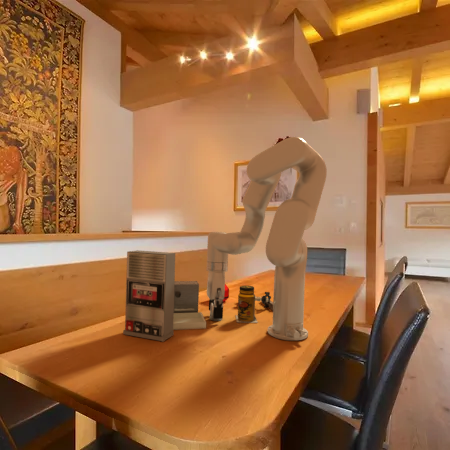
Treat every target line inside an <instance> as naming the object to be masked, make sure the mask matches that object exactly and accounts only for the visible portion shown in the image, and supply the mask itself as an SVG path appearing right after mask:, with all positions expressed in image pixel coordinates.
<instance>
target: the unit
mask: <svg viewBox="0 0 450 450" xmlns="http://www.w3.org/2000/svg"><path fill="white" fill-rule="evenodd" d="M199 293H200V284H199V282H198V281H197V280H185V281H184V280H179V281H178V280H177V281H175V284H174V313H196V312H199V302H200V301H199V300H200V299H199V295H200V294H199Z"/></svg>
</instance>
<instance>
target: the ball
mask: <svg viewBox="0 0 450 450" xmlns="http://www.w3.org/2000/svg"><path fill="white" fill-rule="evenodd" d="M228 299H230V289H229V286H228V285H227V284H226V283H225V294H224V299H223V303H225V302H226V301H227V300H228Z"/></svg>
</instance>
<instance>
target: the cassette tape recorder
mask: <svg viewBox="0 0 450 450" xmlns="http://www.w3.org/2000/svg"><path fill="white" fill-rule="evenodd" d="M175 276H176V252H167V251H164V252H163V251H154V250H153V251H150V250H138V249H137V250H129V251H127V252H126V283H125V315H124V316H125V318H124V319H125V320H124V321H125V322H124V329H123V330H122V334H123V335H125V336H132V337H137V338H142V339H149V340H153V341H159V342H162V343H163V342H165V341H166V340H168V339H170V338H171V337H173V336H174V335H175V334H174V332H175V331H174V330H173V318H174V284H175Z"/></svg>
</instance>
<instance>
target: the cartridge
mask: <svg viewBox="0 0 450 450" xmlns="http://www.w3.org/2000/svg"><path fill="white" fill-rule="evenodd" d="M216 304H217V301H216ZM214 307H215V305H214V301H213V303H211V308H210V311H209V320H211V321H213V322H214V321H215V322H219V321H222V320H223V318H222V319H214V318H213V310H214Z"/></svg>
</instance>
